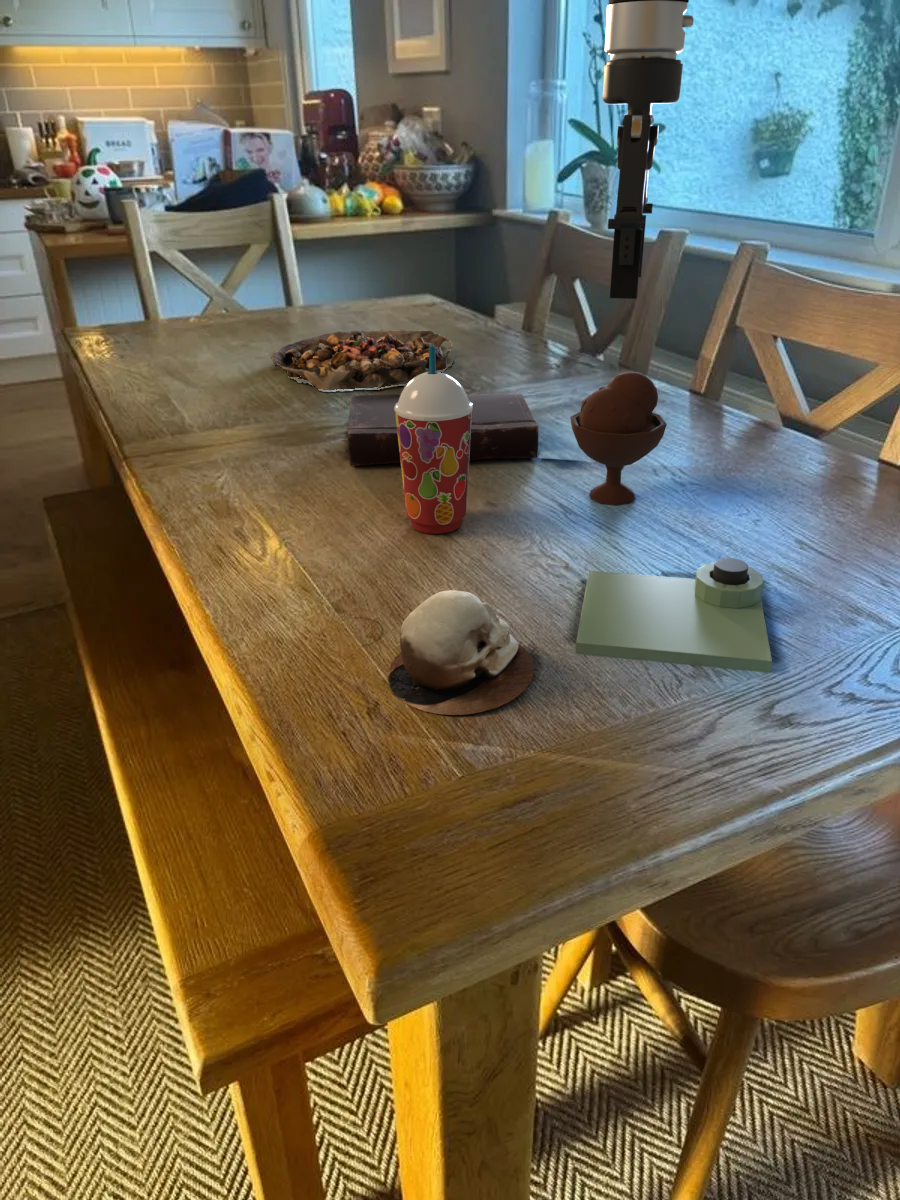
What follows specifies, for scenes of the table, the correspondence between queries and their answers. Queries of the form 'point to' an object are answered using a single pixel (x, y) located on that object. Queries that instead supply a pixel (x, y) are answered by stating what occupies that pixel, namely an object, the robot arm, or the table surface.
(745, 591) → the scale
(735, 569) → the button
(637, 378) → the ice cream bowl
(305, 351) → the food dish
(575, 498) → the table surface
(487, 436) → the diary
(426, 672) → the skull
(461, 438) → the smoothie
